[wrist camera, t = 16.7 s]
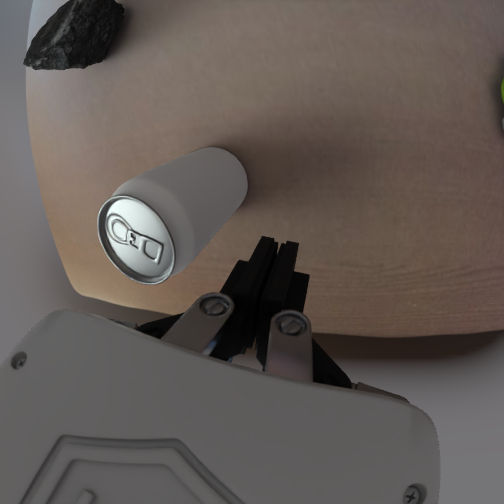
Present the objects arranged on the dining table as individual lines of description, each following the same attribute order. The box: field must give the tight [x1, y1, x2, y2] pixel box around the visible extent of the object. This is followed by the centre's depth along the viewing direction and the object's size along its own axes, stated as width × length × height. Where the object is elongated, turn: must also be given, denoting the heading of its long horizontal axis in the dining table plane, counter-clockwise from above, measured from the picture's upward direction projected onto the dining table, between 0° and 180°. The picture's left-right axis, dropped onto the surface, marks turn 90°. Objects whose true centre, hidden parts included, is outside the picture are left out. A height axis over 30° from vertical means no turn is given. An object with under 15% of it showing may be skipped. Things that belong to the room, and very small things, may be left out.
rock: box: [23, 0, 124, 70], centre depth 14 cm, size 8×7×10 cm
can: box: [97, 147, 248, 285], centre depth 19 cm, size 6×6×12 cm
